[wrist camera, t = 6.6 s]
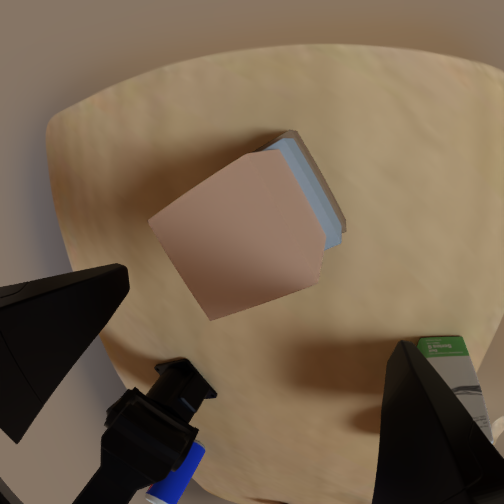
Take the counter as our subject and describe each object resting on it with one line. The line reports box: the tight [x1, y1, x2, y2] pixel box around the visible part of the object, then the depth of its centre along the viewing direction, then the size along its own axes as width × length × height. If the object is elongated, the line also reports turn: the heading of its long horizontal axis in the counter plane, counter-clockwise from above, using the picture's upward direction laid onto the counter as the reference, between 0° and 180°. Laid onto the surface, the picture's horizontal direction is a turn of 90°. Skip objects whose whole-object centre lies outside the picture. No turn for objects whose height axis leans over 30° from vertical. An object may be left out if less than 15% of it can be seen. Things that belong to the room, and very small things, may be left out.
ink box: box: [417, 337, 494, 443], centre depth 16 cm, size 9×5×12 cm, turn 4°
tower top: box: [263, 138, 342, 251], centre depth 16 cm, size 6×6×3 cm
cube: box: [147, 149, 326, 321], centre depth 12 cm, size 5×5×5 cm
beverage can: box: [145, 440, 205, 504], centre depth 34 cm, size 5×5×15 cm
